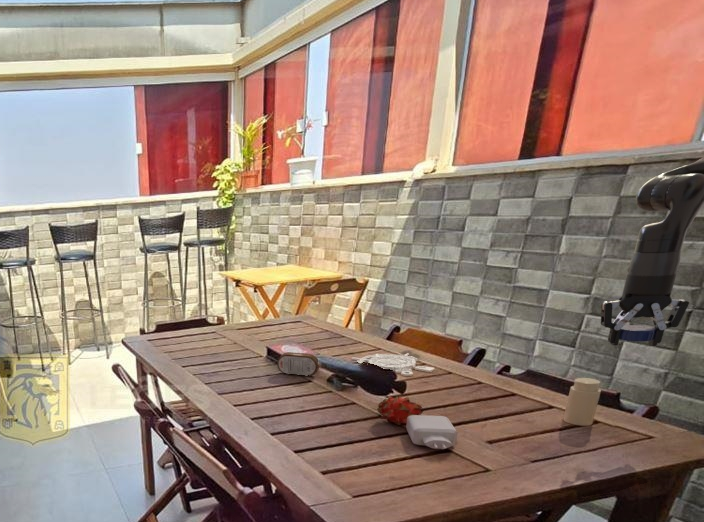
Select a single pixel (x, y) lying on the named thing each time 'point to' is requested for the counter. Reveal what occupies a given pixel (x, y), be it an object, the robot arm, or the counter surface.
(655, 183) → the robot arm
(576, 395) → the jar
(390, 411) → the dragon fruit
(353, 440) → the counter surface
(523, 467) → the counter surface
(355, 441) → the counter surface
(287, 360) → the tin
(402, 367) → the pendant
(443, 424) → the charger
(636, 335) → the jar lid
